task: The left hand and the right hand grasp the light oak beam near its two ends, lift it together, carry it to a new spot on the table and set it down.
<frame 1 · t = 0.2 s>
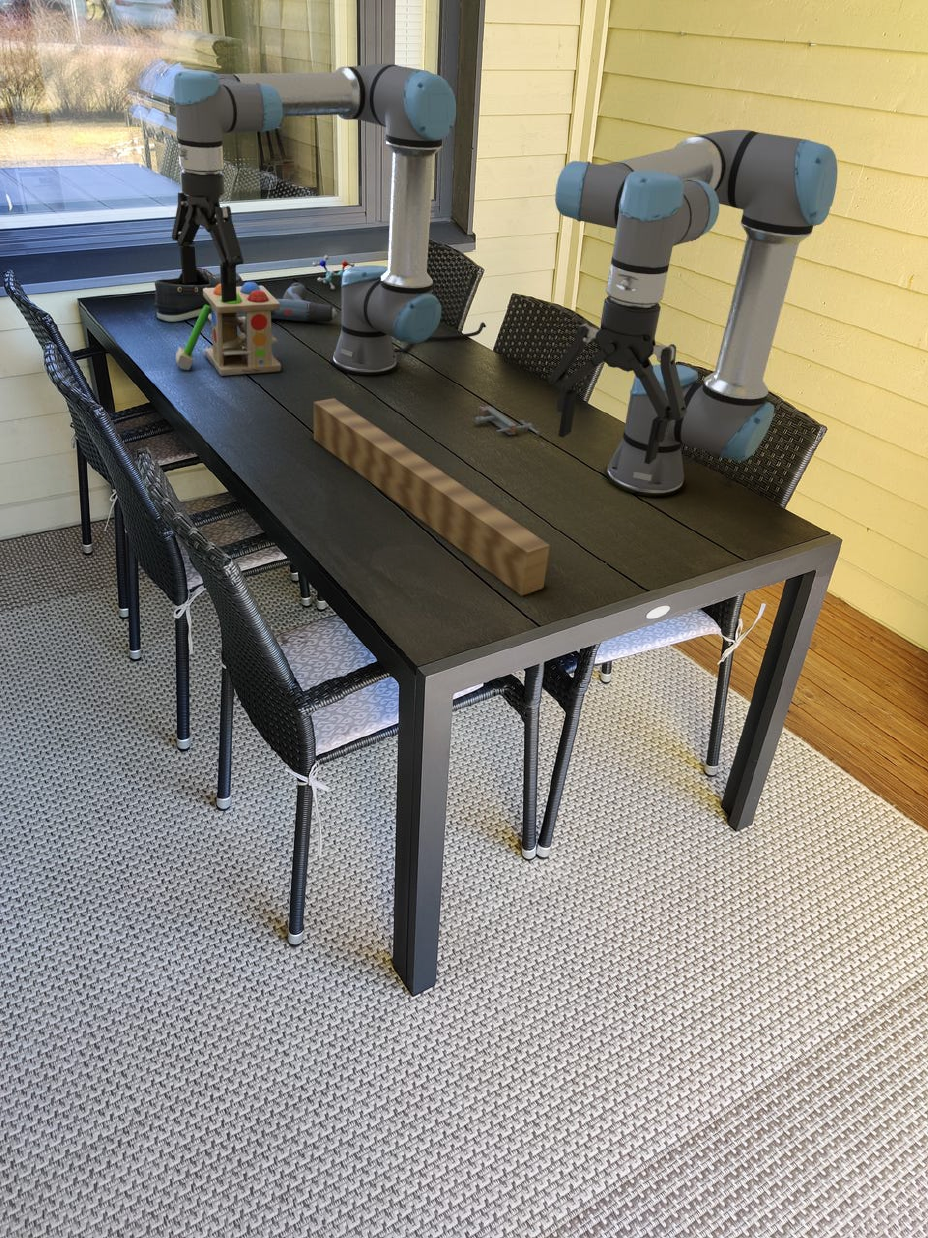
left hand: (209, 291, 186), 28 cm above the table, tool pointing down, fingers open, 13 cm apart
right hand: (606, 447, 142), 27 cm above the table, tool pointing down, fingers open, 13 cm apart
molecular model: (331, 285, 290), on the table
pounding bench toy: (225, 365, 230), on the table
clamp: (503, 428, 213), on the table
beam: (415, 505, 180), on the table
boat shoe: (202, 306, 265), on the table
power drill: (305, 313, 267), on the table
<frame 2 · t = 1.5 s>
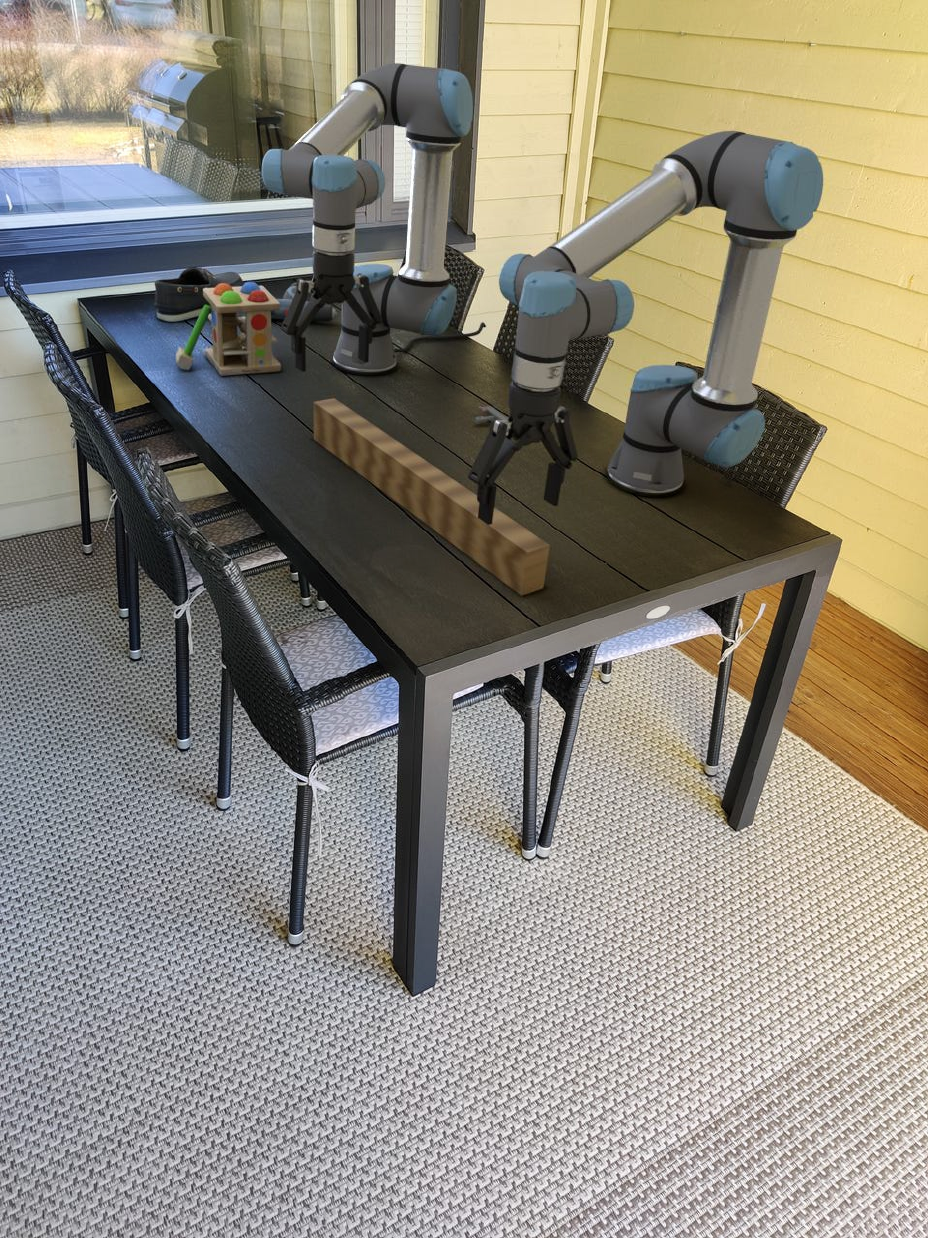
left hand: (332, 364, 189), 17 cm above the table, tool pointing down, fingers open, 13 cm apart
right hand: (518, 511, 156), 12 cm above the table, tool pointing down, fingers open, 13 cm apart
nothing on the table moved.
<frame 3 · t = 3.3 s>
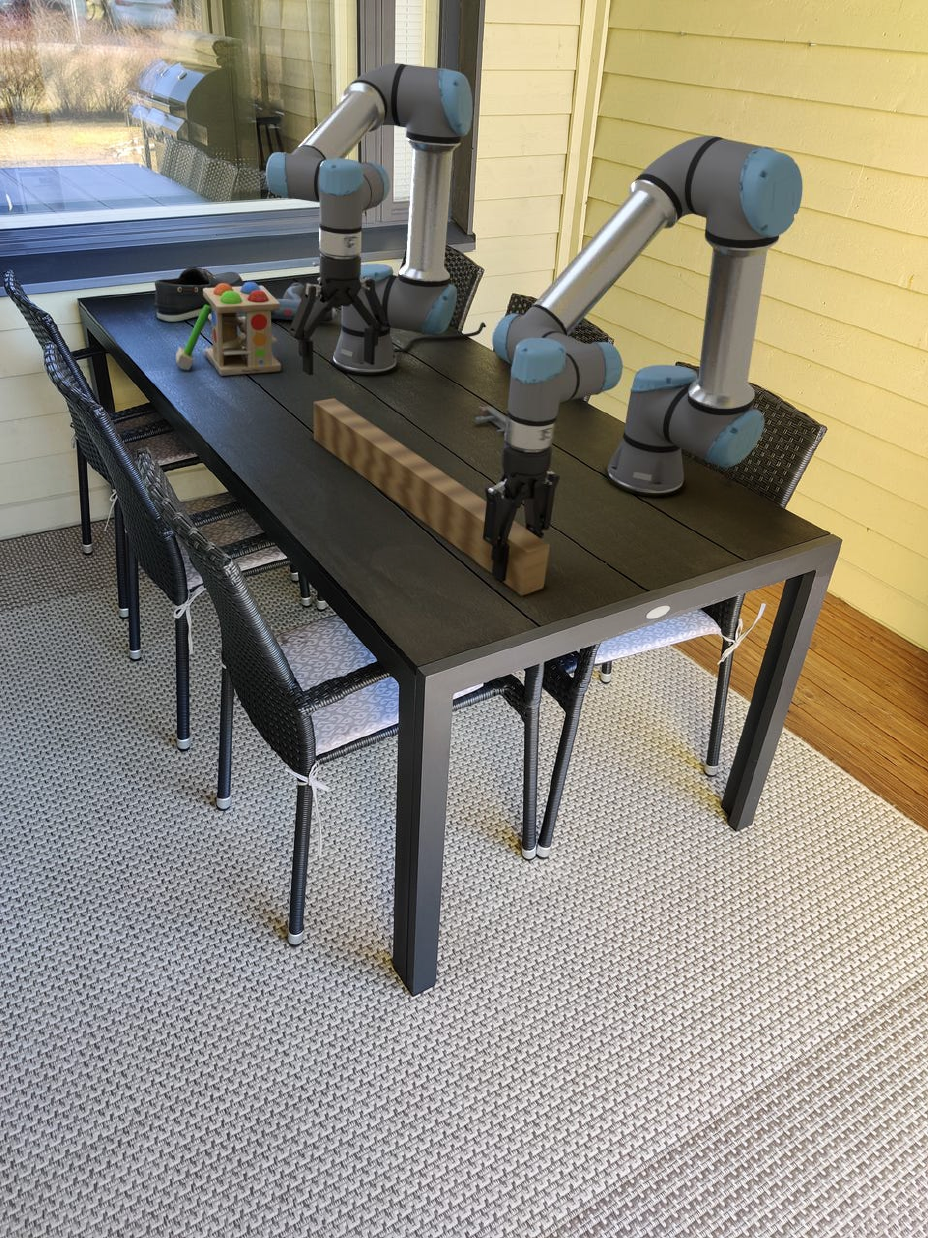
left hand: (339, 367, 189), 17 cm above the table, tool pointing down, fingers open, 13 cm apart
right hand: (511, 572, 162), 1 cm above the table, tool pointing down, fingers closed on beam, 5 cm apart
beam: (415, 505, 180), on the table, touching right hand
everything else where it was.
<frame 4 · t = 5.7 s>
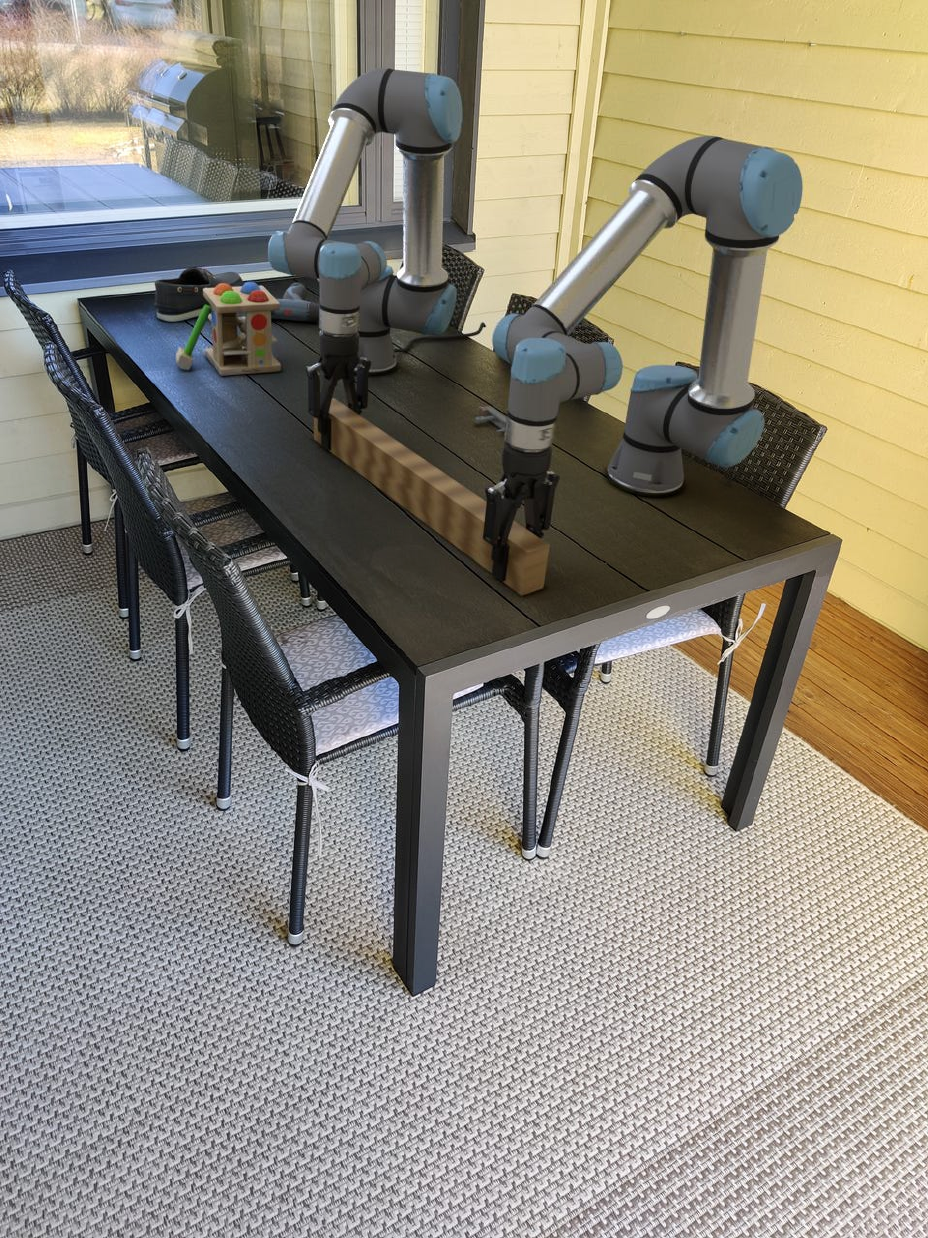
left hand: (337, 444, 198), 1 cm above the table, tool pointing down, fingers closed on beam, 5 cm apart
right hand: (511, 572, 162), 1 cm above the table, tool pointing down, fingers closed on beam, 5 cm apart
beam: (415, 505, 180), on the table, touching left hand, right hand
everything else where it was.
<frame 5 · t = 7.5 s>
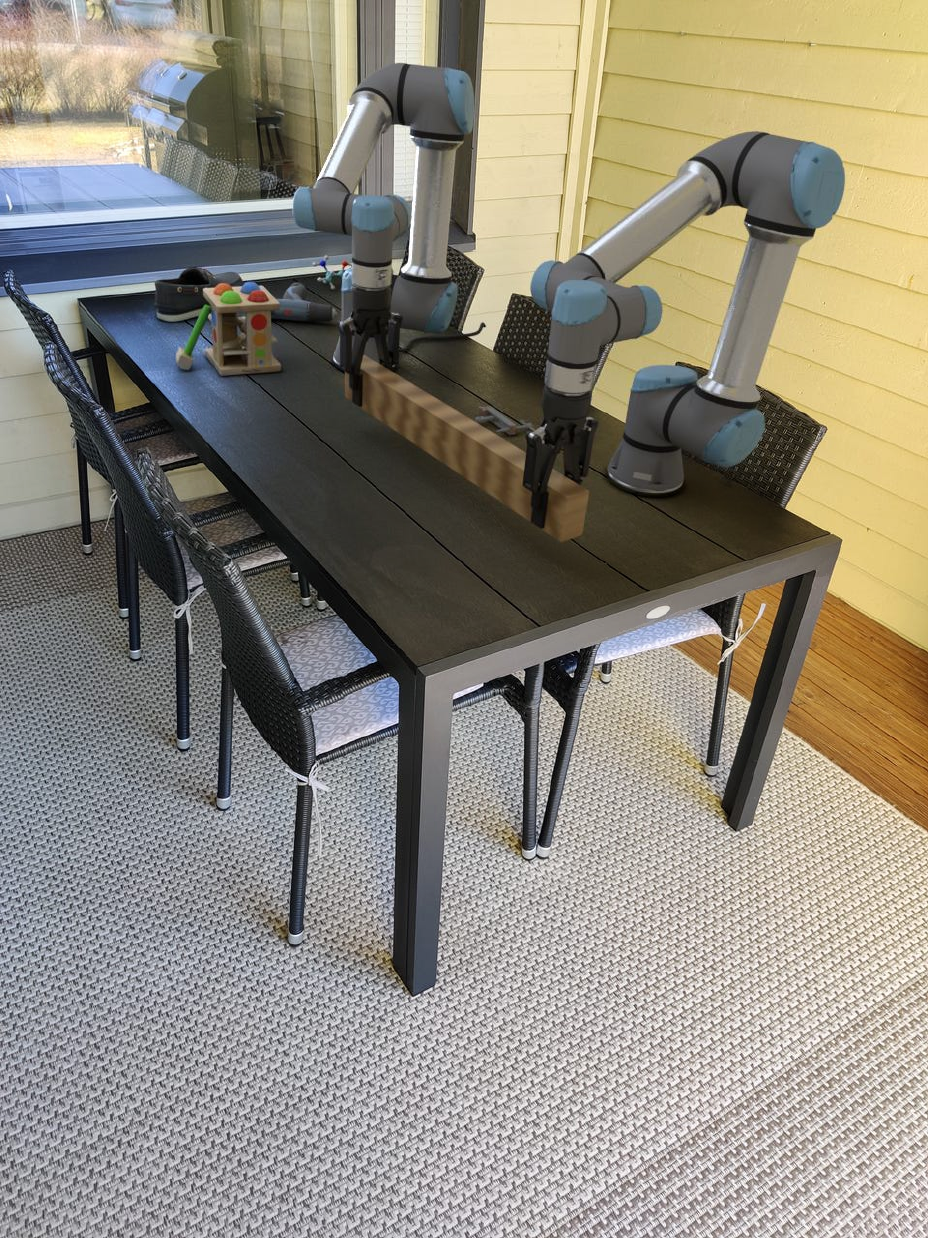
left hand: (368, 401, 198), 8 cm above the table, tool pointing down, fingers closed on beam, 5 cm apart
right hand: (550, 520, 163), 8 cm above the table, tool pointing down, fingers closed on beam, 5 cm apart
beam: (450, 458, 181), point 7 cm above the table, touching left hand, right hand
everything else where it was.
when the left hand's fingers open (2 cm above the table, at t = 9.5 s): beam drops 1 cm, on the table.
when the right hand's fingers open (2 cm above the table, at t = 9.5 s): beam drops 1 cm, on the table.
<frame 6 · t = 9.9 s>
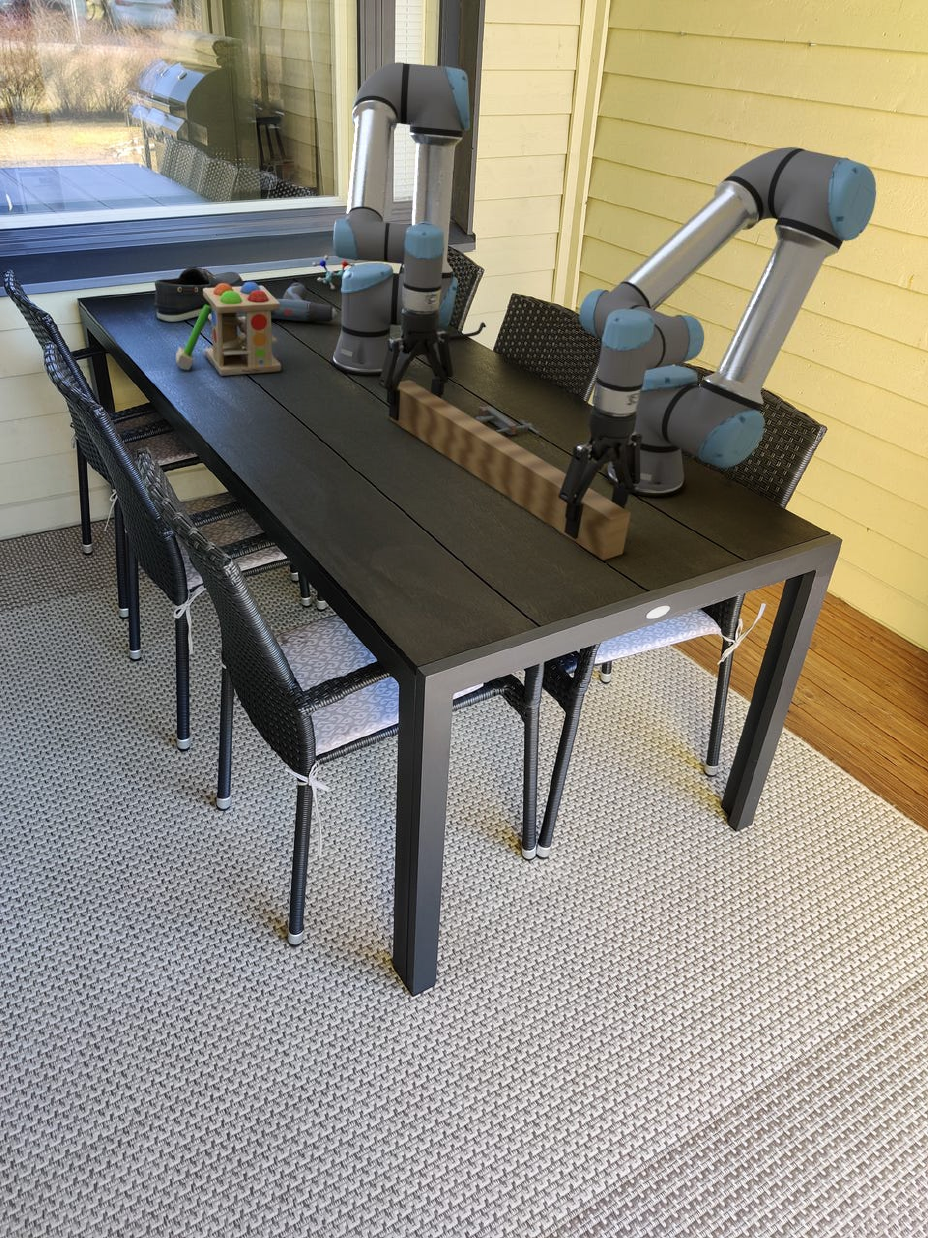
left hand: (414, 413, 208), 3 cm above the table, tool pointing down, fingers open, 10 cm apart
right hand: (593, 527, 173), 3 cm above the table, tool pointing down, fingers open, 10 cm apart
beam: (494, 479, 192), on the table
everything else where it was.
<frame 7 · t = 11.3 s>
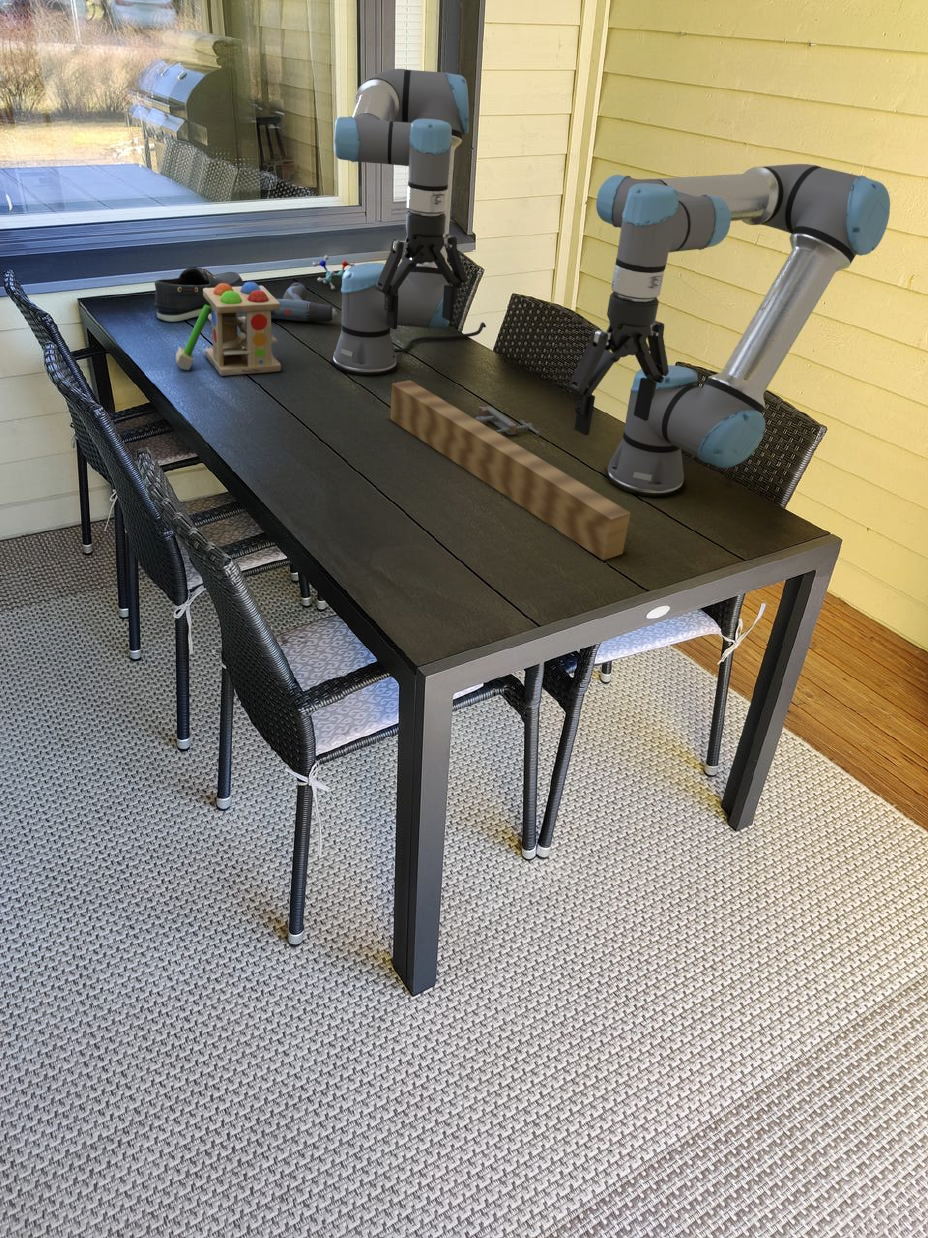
left hand: (419, 323, 197), 22 cm above the table, tool pointing down, fingers open, 13 cm apart
right hand: (611, 424, 162), 22 cm above the table, tool pointing down, fingers open, 13 cm apart
nothing on the table moved.
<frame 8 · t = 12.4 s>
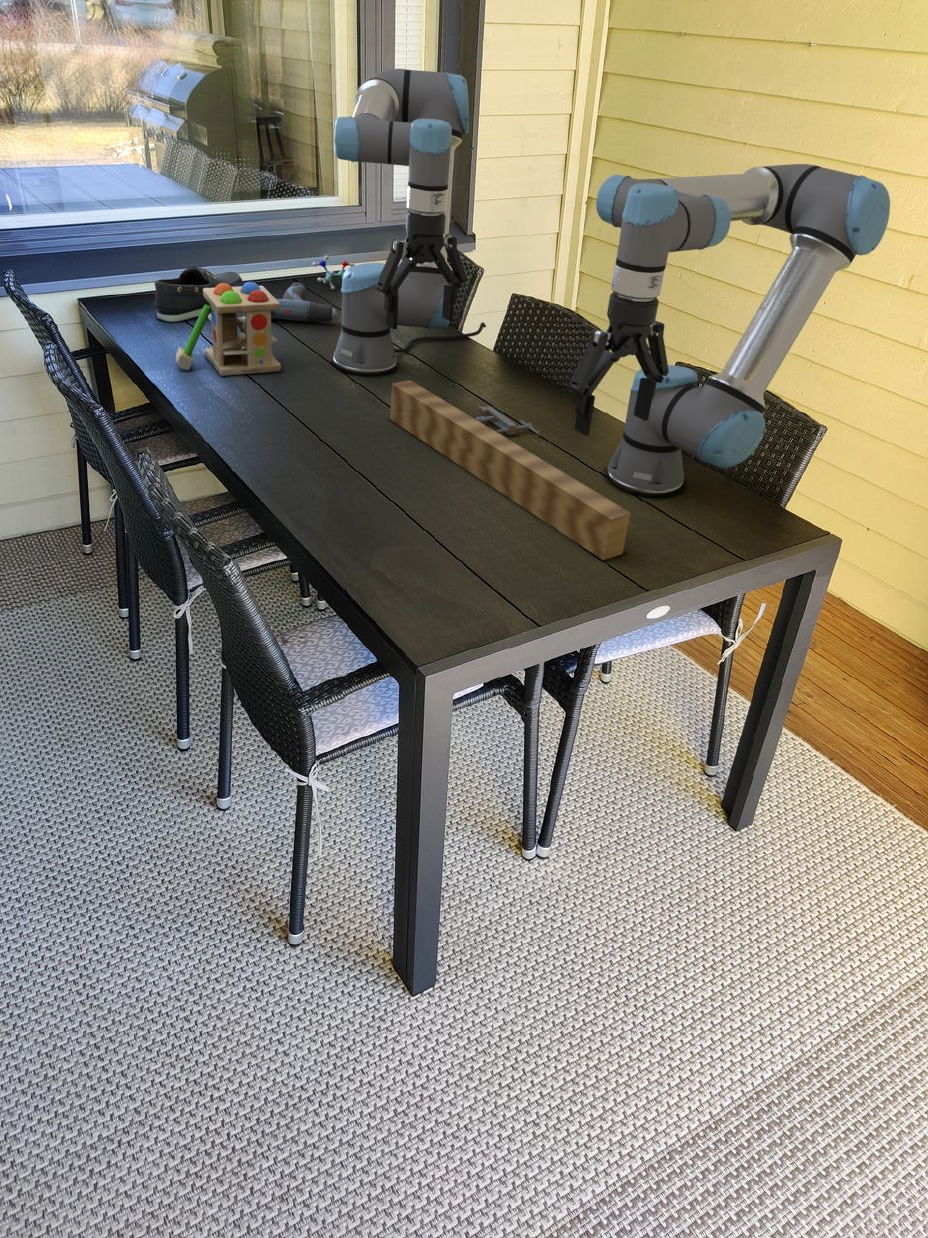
left hand: (419, 323, 197), 22 cm above the table, tool pointing down, fingers open, 13 cm apart
right hand: (611, 424, 162), 22 cm above the table, tool pointing down, fingers open, 13 cm apart
nothing on the table moved.
at the end: beam inside the target area (0.1 cm from its centre), on the table; beam tilted 0°; beam never tilted more than 2° during the clip; both hands held the beam at the same time; the left hand is holding nothing; the right hand is holding nothing; beam at rest at the end (0.0 cm/s) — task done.
